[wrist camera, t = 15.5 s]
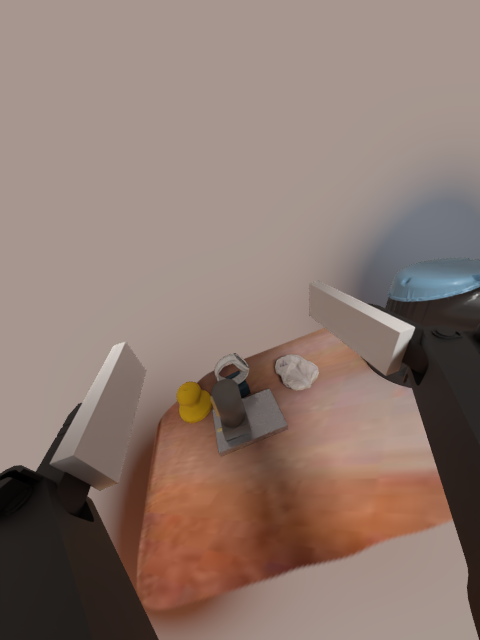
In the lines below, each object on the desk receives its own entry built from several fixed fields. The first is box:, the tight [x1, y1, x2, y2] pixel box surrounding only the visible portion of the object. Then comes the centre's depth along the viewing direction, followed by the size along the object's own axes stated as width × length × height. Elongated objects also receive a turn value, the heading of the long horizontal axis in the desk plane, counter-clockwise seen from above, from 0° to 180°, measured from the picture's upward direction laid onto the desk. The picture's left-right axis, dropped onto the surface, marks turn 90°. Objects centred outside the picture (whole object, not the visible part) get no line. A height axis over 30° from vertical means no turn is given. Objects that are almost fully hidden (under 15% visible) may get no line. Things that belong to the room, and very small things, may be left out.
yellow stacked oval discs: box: [177, 382, 212, 423], centre depth 43 cm, size 8×8×8 cm
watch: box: [214, 353, 251, 399], centre depth 44 cm, size 6×8×11 cm
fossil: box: [275, 354, 319, 391], centre depth 45 cm, size 9×6×10 cm
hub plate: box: [212, 389, 288, 456], centre depth 38 cm, size 14×9×4 cm, turn 105°
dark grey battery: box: [210, 379, 252, 441], centre depth 35 cm, size 6×5×11 cm
